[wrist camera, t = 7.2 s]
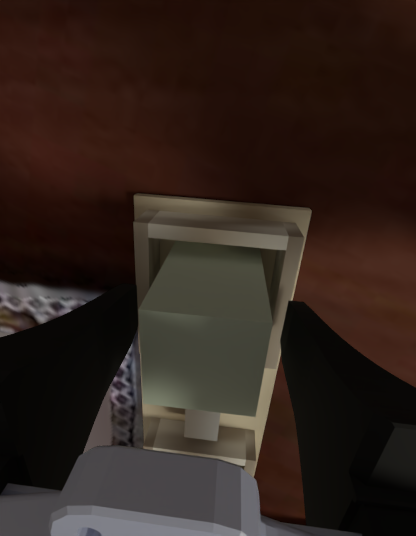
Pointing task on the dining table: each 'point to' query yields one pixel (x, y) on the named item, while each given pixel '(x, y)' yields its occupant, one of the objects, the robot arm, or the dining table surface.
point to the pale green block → (206, 329)
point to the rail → (279, 293)
